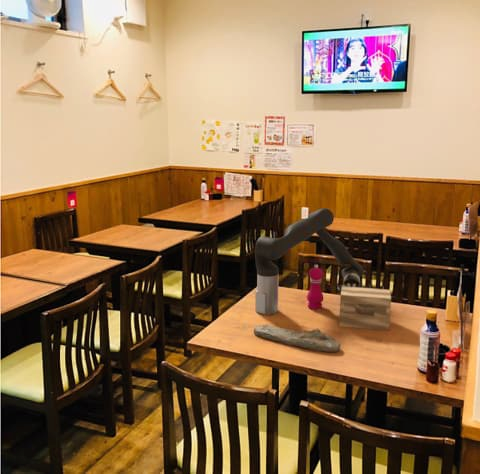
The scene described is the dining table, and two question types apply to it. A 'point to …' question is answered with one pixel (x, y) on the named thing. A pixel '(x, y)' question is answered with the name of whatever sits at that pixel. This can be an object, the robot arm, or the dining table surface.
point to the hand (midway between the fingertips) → (350, 295)
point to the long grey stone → (299, 338)
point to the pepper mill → (315, 289)
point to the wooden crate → (365, 308)
